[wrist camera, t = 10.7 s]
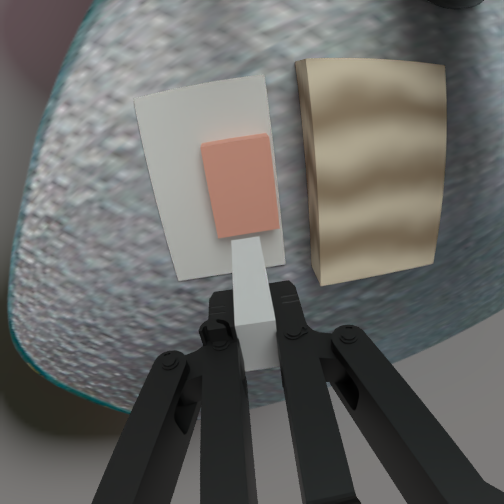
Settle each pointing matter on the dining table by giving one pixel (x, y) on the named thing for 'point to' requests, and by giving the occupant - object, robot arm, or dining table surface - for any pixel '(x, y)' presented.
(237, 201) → the block
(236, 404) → the robot arm
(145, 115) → the mat
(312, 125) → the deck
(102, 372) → the dining table surface
